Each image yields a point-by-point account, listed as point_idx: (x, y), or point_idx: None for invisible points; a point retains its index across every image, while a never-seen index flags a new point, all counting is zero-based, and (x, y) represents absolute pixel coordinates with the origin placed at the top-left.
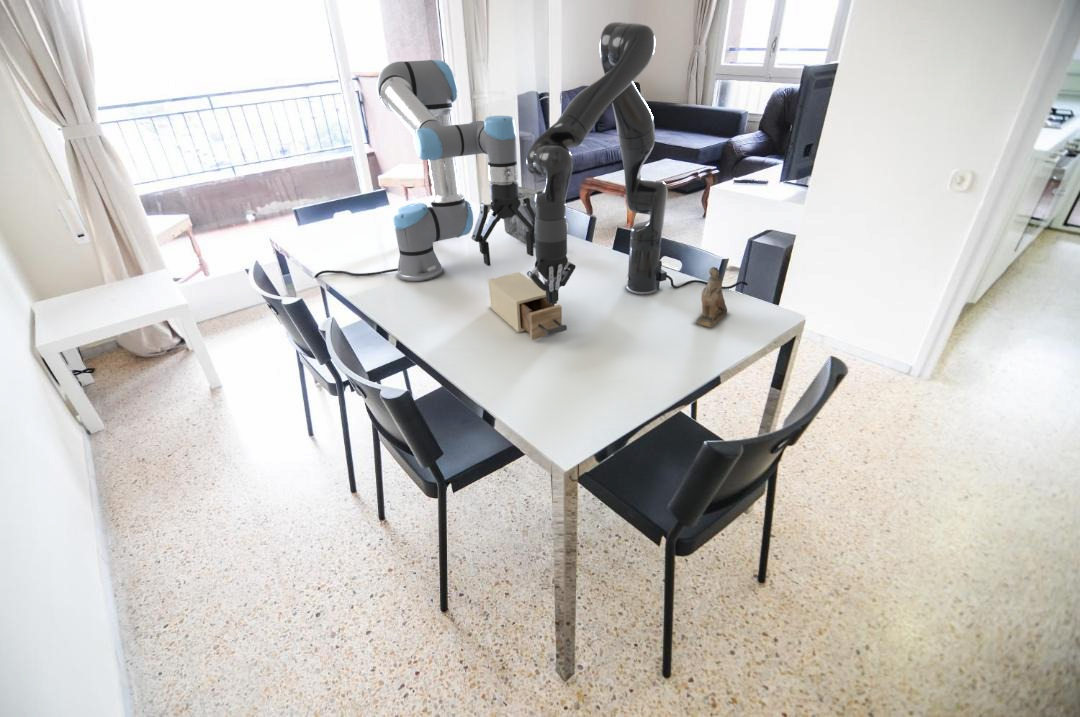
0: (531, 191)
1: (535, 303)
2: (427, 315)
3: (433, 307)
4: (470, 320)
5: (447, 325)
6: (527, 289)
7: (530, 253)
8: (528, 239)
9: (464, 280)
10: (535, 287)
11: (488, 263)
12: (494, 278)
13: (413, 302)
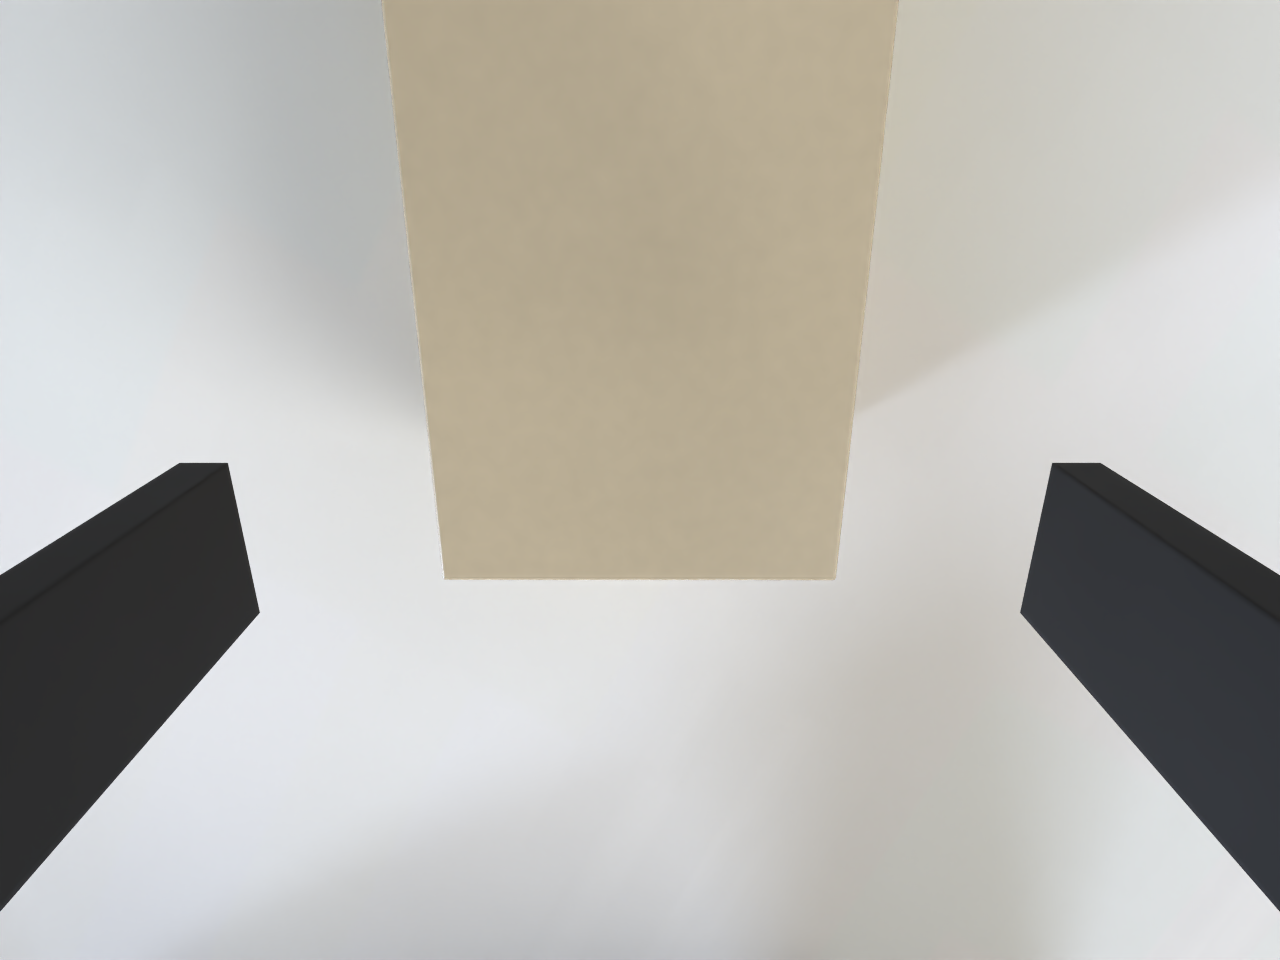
0: None
1: None
2: None
3: None
4: (1020, 350)
5: (1206, 369)
6: (583, 26)
7: (210, 506)
8: (35, 727)
9: (715, 932)
10: (457, 25)
11: (1113, 478)
12: (764, 573)
13: (1161, 813)
